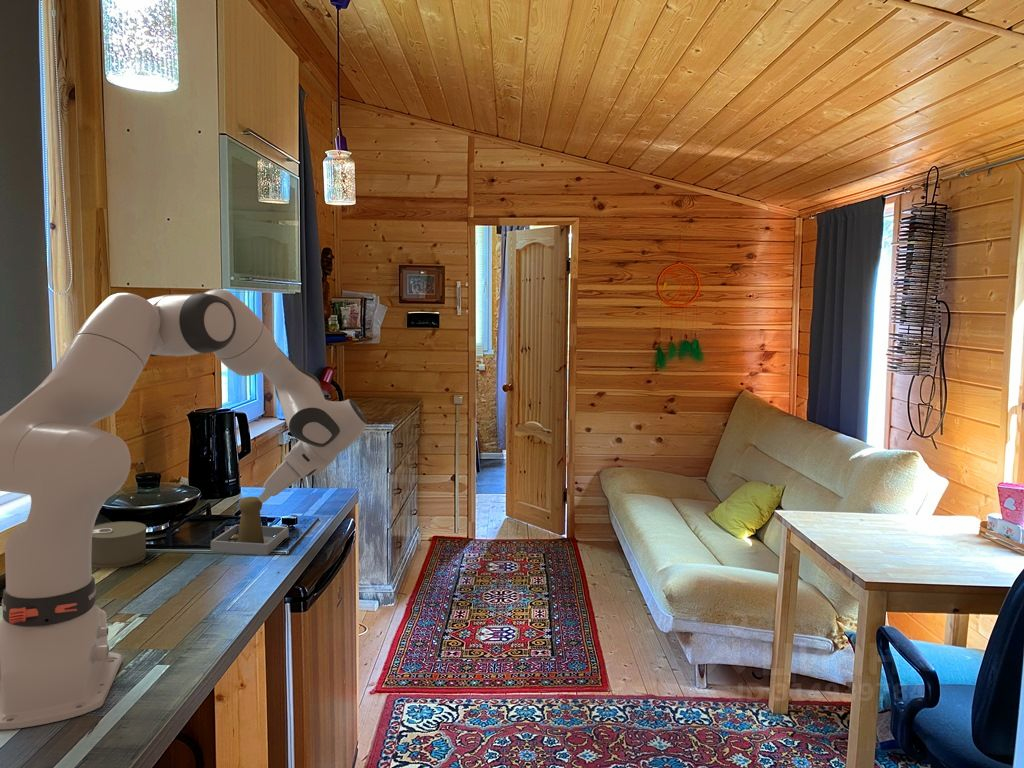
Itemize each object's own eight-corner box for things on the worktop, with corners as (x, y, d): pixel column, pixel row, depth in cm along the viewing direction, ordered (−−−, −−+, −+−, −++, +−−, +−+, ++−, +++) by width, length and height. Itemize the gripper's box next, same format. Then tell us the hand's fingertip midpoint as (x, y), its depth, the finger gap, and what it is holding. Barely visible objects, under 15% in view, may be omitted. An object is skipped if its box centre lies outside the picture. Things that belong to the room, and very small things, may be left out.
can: (147, 565, 161) (146, 534, 161) (83, 571, 156) (82, 540, 155) (146, 547, 172) (146, 519, 171) (86, 553, 166) (86, 524, 166)
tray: (267, 557, 168) (267, 544, 168) (210, 554, 169) (210, 541, 169) (288, 539, 181) (288, 527, 181) (235, 536, 182) (235, 524, 182)
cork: (255, 548, 172) (255, 502, 171) (231, 545, 173) (231, 499, 172) (269, 540, 178) (269, 495, 176) (246, 538, 179) (246, 493, 178)
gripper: (316, 438, 182) (276, 475, 184) (285, 454, 162) (241, 495, 164) (333, 457, 183) (294, 493, 184) (305, 475, 162) (261, 516, 164)
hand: (269, 494), depth 174 cm, fingers open, 8 cm apart
